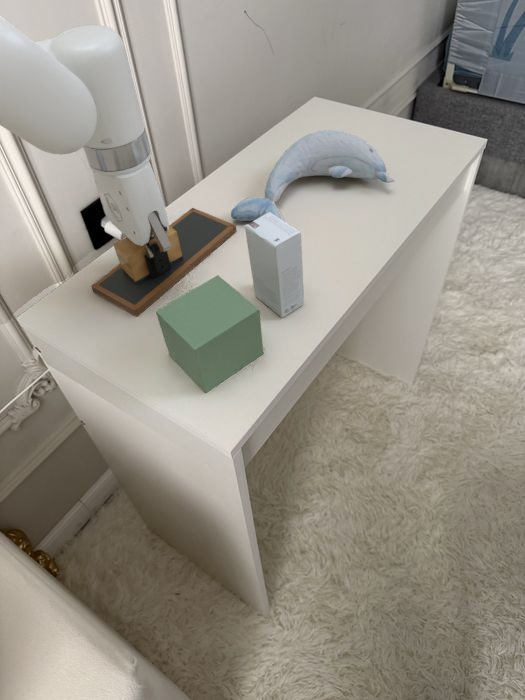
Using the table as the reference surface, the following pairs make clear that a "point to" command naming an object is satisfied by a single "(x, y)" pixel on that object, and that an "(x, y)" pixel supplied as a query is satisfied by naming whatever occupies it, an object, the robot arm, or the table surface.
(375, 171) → the sculpture
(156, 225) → the robot arm
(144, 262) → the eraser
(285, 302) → the cosmetic box
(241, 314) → the sage green box
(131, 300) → the chalkboard
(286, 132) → the table surface
